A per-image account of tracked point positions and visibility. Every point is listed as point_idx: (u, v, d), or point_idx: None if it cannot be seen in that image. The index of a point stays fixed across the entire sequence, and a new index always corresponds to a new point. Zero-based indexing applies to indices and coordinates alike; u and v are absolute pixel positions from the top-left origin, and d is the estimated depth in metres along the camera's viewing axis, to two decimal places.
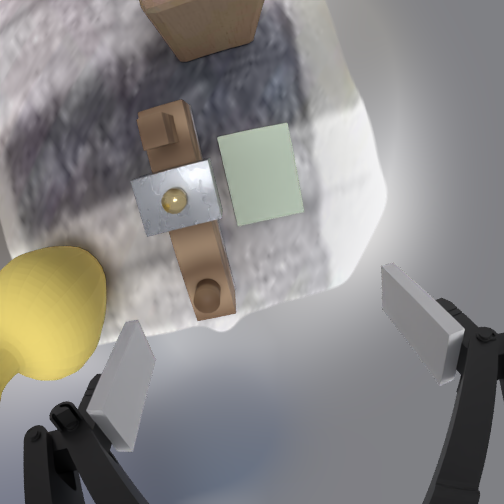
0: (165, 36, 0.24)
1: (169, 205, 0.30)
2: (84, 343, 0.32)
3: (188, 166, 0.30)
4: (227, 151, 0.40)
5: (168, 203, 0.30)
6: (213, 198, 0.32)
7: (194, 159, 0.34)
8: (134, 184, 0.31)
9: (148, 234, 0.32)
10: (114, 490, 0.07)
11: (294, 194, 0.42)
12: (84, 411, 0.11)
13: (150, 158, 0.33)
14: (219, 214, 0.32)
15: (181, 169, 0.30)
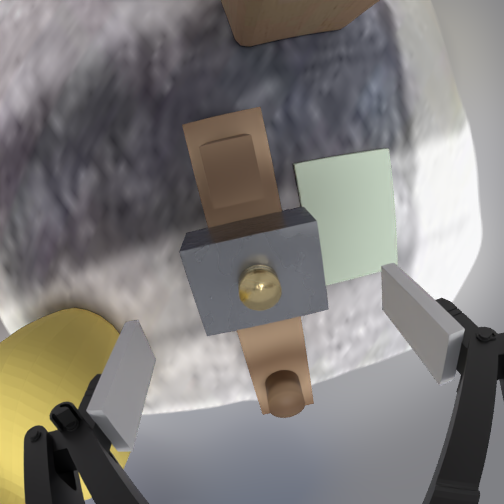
0: None
1: (252, 298, 0.18)
2: None
3: (284, 230, 0.18)
4: (308, 185, 0.27)
5: (251, 295, 0.18)
6: (319, 280, 0.20)
7: (279, 208, 0.21)
8: (186, 257, 0.18)
9: (209, 333, 0.20)
10: (114, 490, 0.07)
11: (389, 245, 0.30)
12: (84, 411, 0.11)
13: (205, 204, 0.21)
14: (326, 303, 0.20)
15: (271, 235, 0.18)
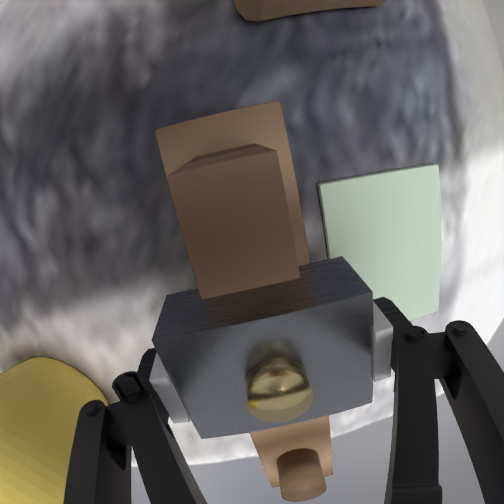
0: None
1: (268, 409, 0.11)
2: None
3: (321, 309, 0.11)
4: (337, 214, 0.20)
5: (266, 405, 0.11)
6: (366, 371, 0.12)
7: (306, 260, 0.14)
8: (163, 348, 0.11)
9: (204, 436, 0.13)
10: (165, 467, 0.08)
11: (431, 286, 0.23)
12: None
13: None
14: (369, 397, 0.13)
15: (300, 316, 0.11)
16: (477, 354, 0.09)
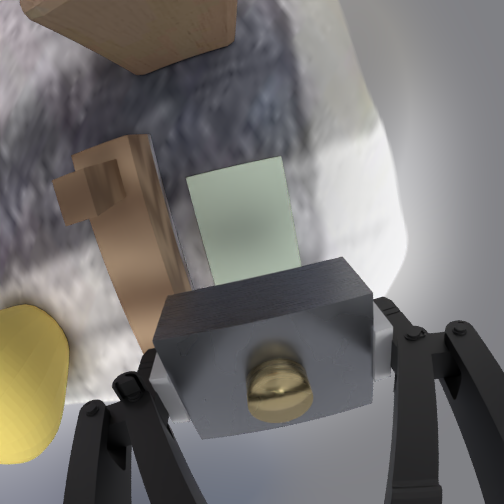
0: (88, 46, 0.14)
1: (268, 409, 0.11)
2: (40, 435, 0.22)
3: (321, 310, 0.11)
4: (200, 197, 0.30)
5: (266, 406, 0.11)
6: (366, 372, 0.12)
7: (148, 220, 0.24)
8: (163, 349, 0.11)
9: (205, 436, 0.13)
10: (165, 467, 0.08)
11: (290, 251, 0.33)
12: None
13: (91, 218, 0.24)
14: (369, 397, 0.13)
15: (300, 317, 0.11)
16: (477, 354, 0.09)
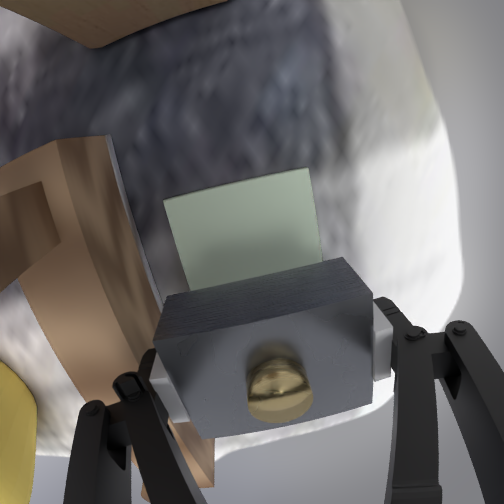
0: None
1: (268, 409, 0.11)
2: None
3: (321, 310, 0.11)
4: (185, 229, 0.20)
5: (266, 406, 0.11)
6: (366, 372, 0.12)
7: (97, 281, 0.14)
8: (163, 349, 0.11)
9: (205, 436, 0.13)
10: (165, 467, 0.08)
11: None
12: None
13: None
14: (369, 397, 0.13)
15: (300, 317, 0.11)
16: (477, 354, 0.09)
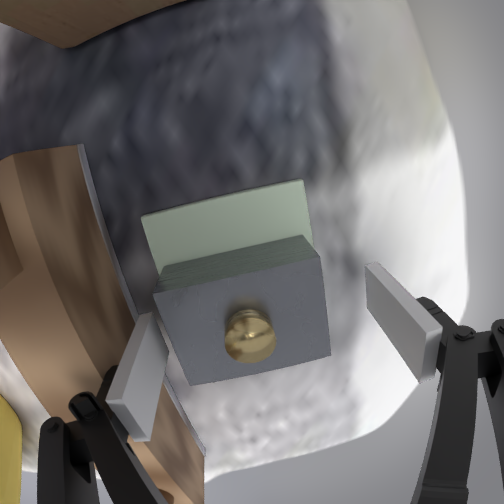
0: None
1: (241, 349, 0.15)
2: None
3: (279, 269, 0.15)
4: (165, 249, 0.18)
5: (239, 346, 0.15)
6: (322, 324, 0.16)
7: (64, 314, 0.12)
8: (160, 301, 0.15)
9: (192, 382, 0.17)
10: (129, 482, 0.07)
11: None
12: (102, 401, 0.11)
13: None
14: (328, 349, 0.17)
15: (263, 274, 0.15)
16: None
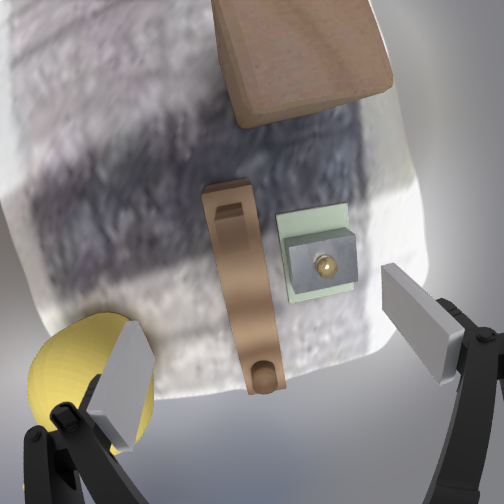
0: (248, 120, 0.24)
1: (324, 271, 0.36)
2: (142, 426, 0.31)
3: (339, 238, 0.37)
4: (285, 230, 0.40)
5: (323, 269, 0.36)
6: (354, 265, 0.38)
7: (262, 250, 0.33)
8: (291, 250, 0.37)
9: (296, 292, 0.38)
10: (114, 489, 0.07)
11: None
12: (84, 411, 0.11)
13: (214, 246, 0.33)
14: (357, 278, 0.38)
15: (333, 240, 0.37)
16: None
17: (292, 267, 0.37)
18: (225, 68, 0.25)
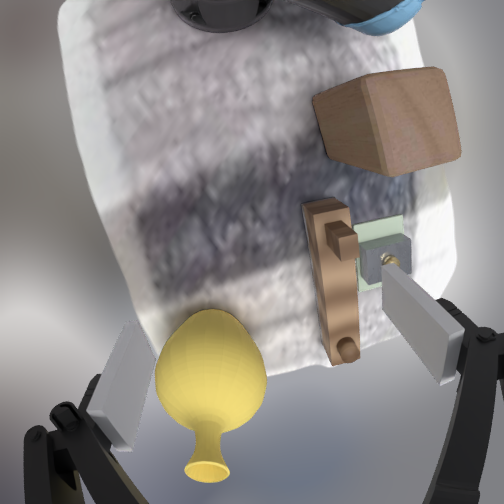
0: None
1: None
2: (262, 399, 0.42)
3: (400, 242, 0.47)
4: (359, 237, 0.50)
5: None
6: (409, 261, 0.48)
7: None
8: (368, 252, 0.47)
9: (369, 284, 0.49)
10: (114, 490, 0.07)
11: None
12: (84, 411, 0.11)
13: (320, 252, 0.43)
14: (410, 271, 0.49)
15: (396, 244, 0.47)
16: None
17: (368, 265, 0.48)
18: (339, 123, 0.35)
